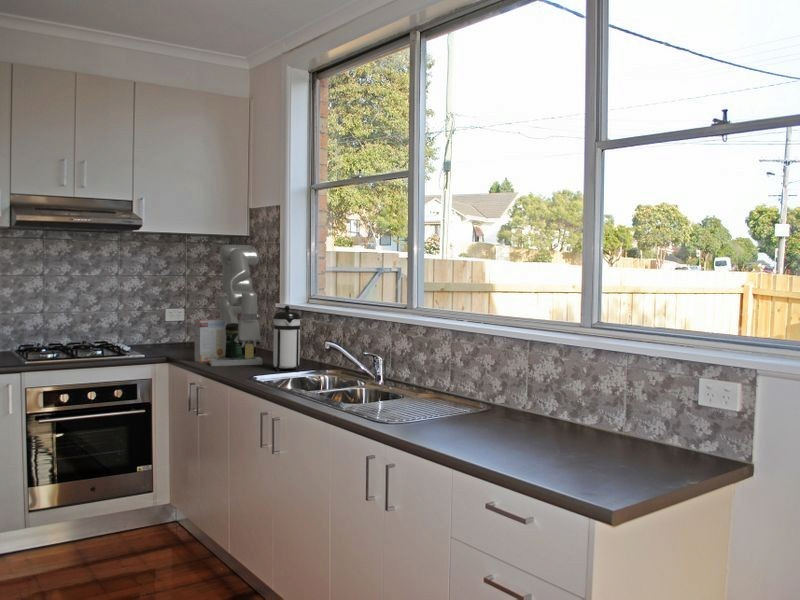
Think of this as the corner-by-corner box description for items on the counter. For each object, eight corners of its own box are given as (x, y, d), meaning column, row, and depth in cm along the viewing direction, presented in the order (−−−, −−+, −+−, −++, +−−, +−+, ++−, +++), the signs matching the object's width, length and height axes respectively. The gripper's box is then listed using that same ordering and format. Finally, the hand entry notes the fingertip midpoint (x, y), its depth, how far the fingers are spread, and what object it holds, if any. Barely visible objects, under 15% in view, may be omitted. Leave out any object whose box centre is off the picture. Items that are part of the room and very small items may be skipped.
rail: (209, 364, 349) (209, 358, 349) (259, 363, 357) (259, 356, 357) (211, 366, 342) (211, 360, 341) (262, 365, 350) (262, 358, 350)
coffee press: (310, 369, 341) (311, 305, 340) (288, 373, 327) (289, 307, 326) (281, 365, 350) (282, 304, 349) (259, 369, 336) (260, 305, 335)
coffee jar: (246, 359, 369) (246, 323, 368) (232, 361, 364) (233, 324, 363) (236, 357, 376) (236, 322, 375) (222, 359, 370) (223, 322, 370)
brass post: (243, 360, 353) (244, 344, 352) (252, 360, 354) (252, 343, 354) (245, 361, 349) (245, 344, 349) (253, 361, 350) (253, 344, 350)
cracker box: (218, 359, 367) (219, 318, 366) (225, 361, 363) (225, 319, 362) (193, 362, 357) (193, 319, 356) (199, 363, 353) (200, 320, 352)
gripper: (265, 316, 357) (264, 353, 358) (230, 316, 351) (230, 354, 352) (267, 317, 350) (267, 355, 351) (232, 318, 344) (232, 356, 345)
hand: (248, 354), depth 351 cm, fingers closed on brass post, 3 cm apart
